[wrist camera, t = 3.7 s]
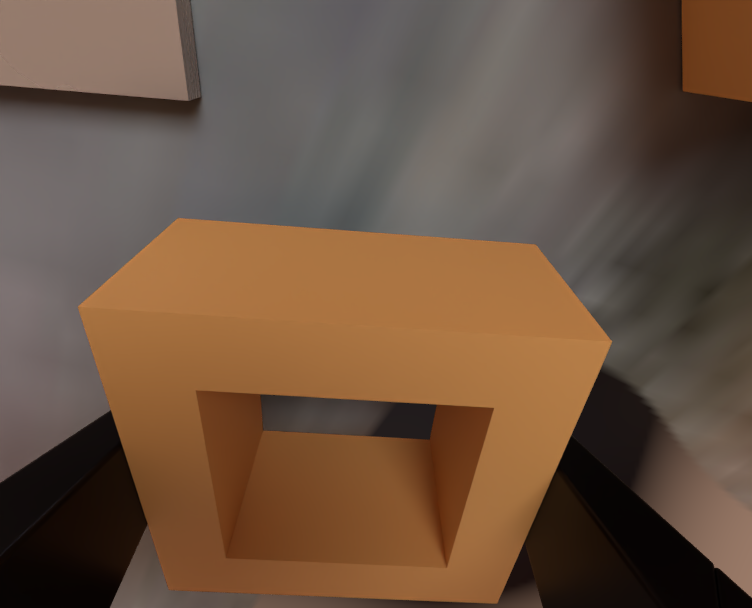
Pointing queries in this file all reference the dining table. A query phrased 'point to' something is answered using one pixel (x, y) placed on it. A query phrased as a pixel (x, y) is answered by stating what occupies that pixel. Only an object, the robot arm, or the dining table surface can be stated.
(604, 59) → the dining table surface
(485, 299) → the end link
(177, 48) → the plate with brass peg
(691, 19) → the chain link
